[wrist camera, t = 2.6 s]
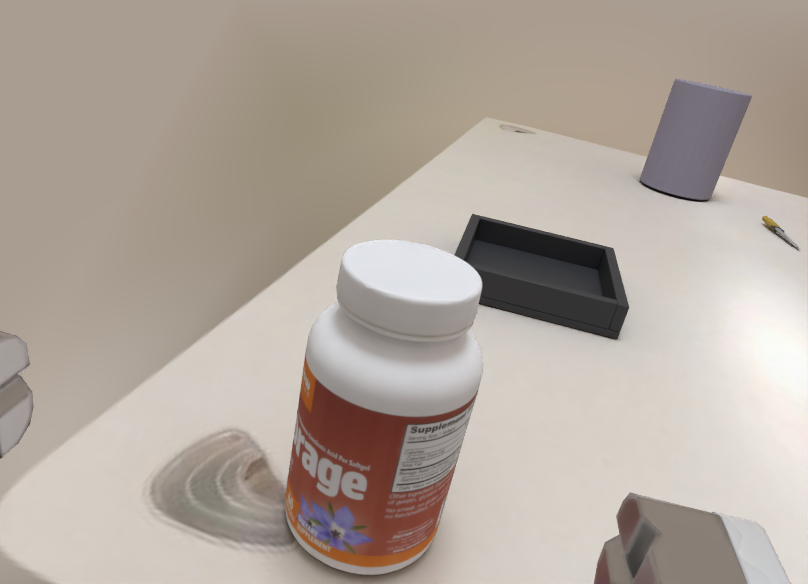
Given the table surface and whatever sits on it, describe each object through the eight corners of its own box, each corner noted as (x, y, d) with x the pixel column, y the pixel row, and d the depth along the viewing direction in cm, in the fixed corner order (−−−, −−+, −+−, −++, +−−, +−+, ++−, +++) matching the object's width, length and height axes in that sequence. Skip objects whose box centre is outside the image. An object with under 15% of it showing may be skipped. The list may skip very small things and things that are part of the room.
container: (707, 192, 97) (747, 93, 90) (712, 207, 88) (757, 98, 81) (639, 174, 99) (674, 77, 93) (638, 187, 90) (676, 81, 84)
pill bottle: (256, 489, 25) (283, 236, 21) (380, 447, 29) (427, 225, 24) (333, 611, 21) (389, 327, 16) (467, 544, 25) (545, 297, 20)
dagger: (810, 249, 75) (795, 243, 75) (805, 256, 75) (790, 249, 75) (773, 218, 84) (760, 212, 84) (768, 223, 84) (755, 217, 84)
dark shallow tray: (443, 294, 45) (451, 261, 44) (465, 240, 57) (472, 213, 56) (617, 339, 44) (629, 307, 43) (604, 275, 55) (613, 248, 54)
